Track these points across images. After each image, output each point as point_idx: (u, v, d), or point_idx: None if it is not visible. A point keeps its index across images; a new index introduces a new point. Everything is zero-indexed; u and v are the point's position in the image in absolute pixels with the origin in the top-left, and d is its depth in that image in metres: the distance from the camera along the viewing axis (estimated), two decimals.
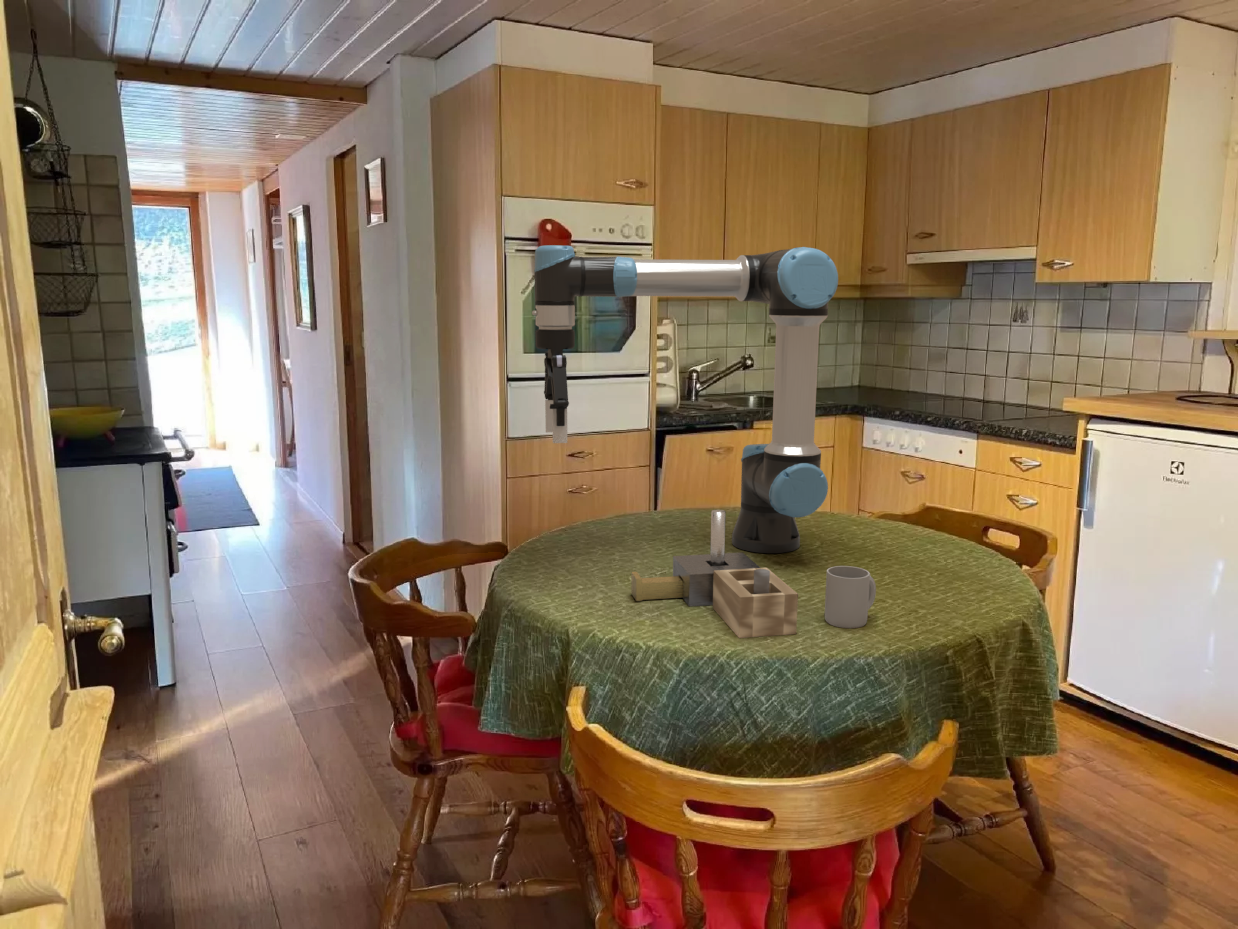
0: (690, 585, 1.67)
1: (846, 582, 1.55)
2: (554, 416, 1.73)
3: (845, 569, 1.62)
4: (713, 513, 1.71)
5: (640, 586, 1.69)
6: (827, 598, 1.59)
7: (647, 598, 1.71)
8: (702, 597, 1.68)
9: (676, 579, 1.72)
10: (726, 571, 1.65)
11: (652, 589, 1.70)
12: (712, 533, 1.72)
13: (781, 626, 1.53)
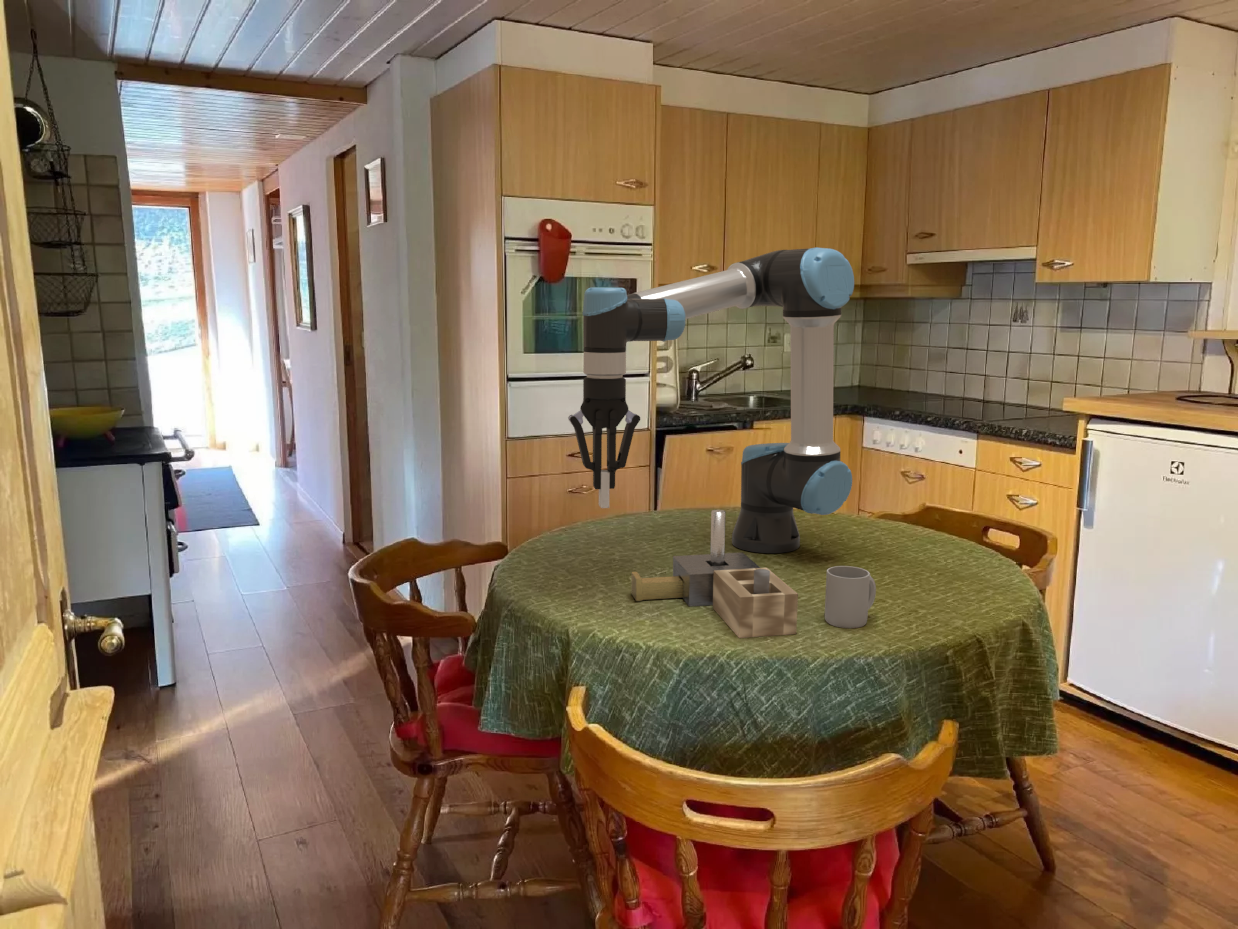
0: (690, 585, 1.67)
1: (846, 582, 1.55)
2: None
3: (845, 569, 1.62)
4: (713, 513, 1.71)
5: (640, 586, 1.69)
6: (827, 598, 1.59)
7: (647, 598, 1.71)
8: (702, 597, 1.68)
9: (676, 579, 1.72)
10: (726, 571, 1.65)
11: (652, 589, 1.70)
12: (712, 533, 1.72)
13: (781, 626, 1.53)
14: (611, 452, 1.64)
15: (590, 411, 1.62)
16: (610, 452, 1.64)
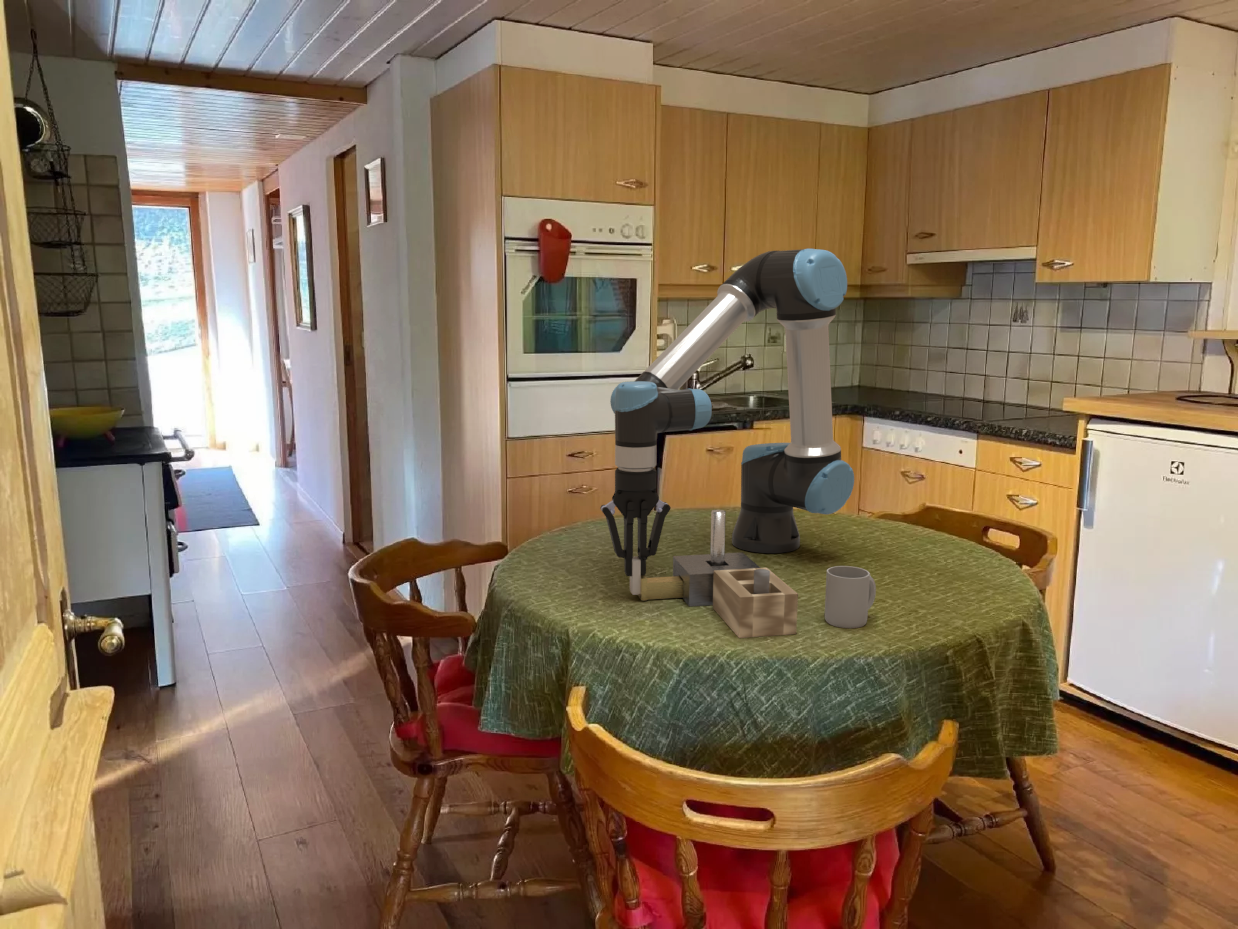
0: (690, 585, 1.67)
1: (846, 582, 1.55)
2: None
3: (845, 569, 1.62)
4: (713, 513, 1.71)
5: (645, 586, 1.69)
6: (827, 598, 1.59)
7: (652, 598, 1.71)
8: (702, 597, 1.68)
9: (681, 579, 1.72)
10: (726, 571, 1.65)
11: (657, 589, 1.71)
12: (712, 533, 1.72)
13: (781, 626, 1.53)
14: (642, 541, 1.69)
15: (622, 502, 1.67)
16: (641, 541, 1.69)
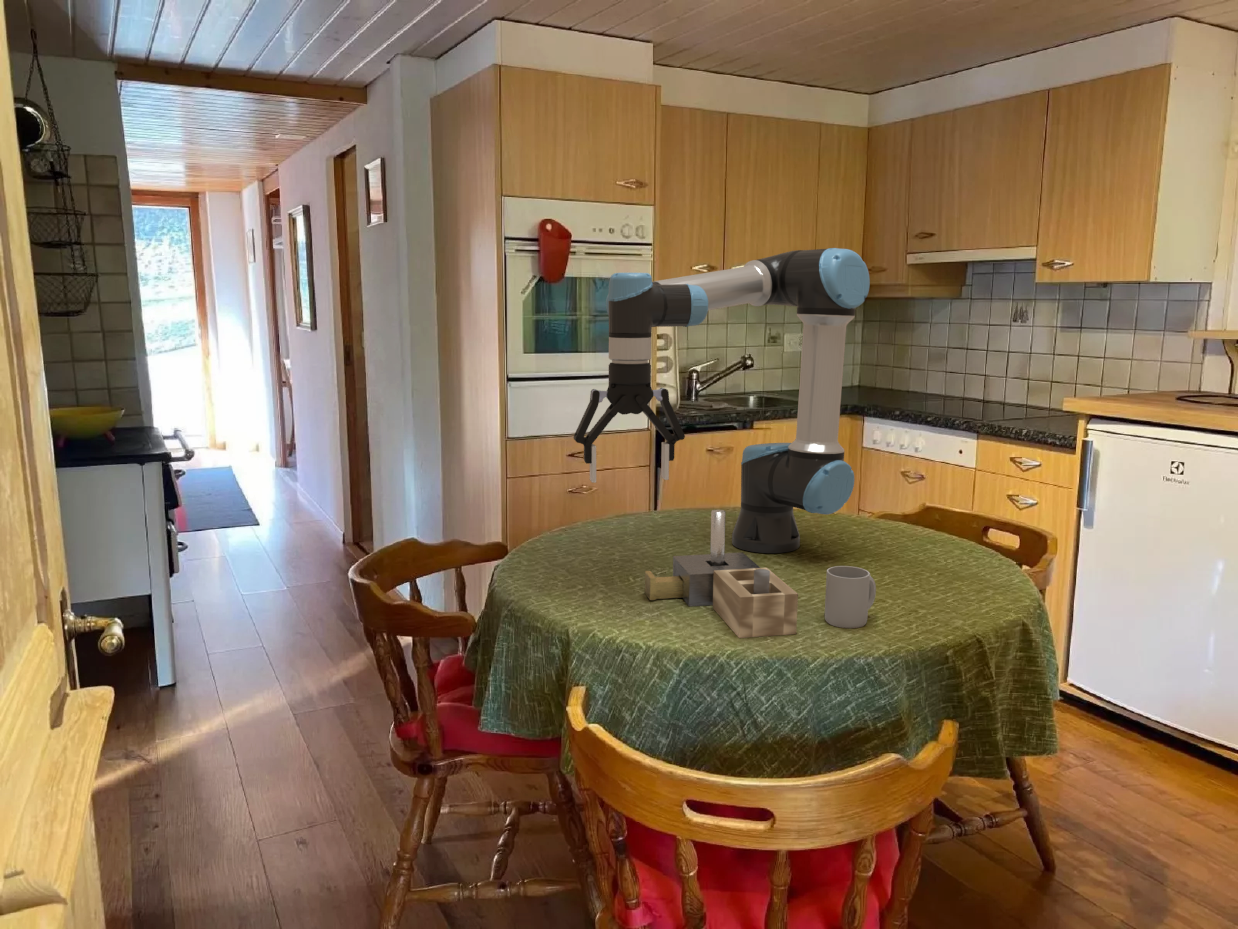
0: (690, 585, 1.67)
1: (846, 582, 1.55)
2: None
3: (845, 569, 1.62)
4: (713, 513, 1.71)
5: (654, 585, 1.70)
6: (827, 598, 1.59)
7: (661, 597, 1.71)
8: (702, 597, 1.68)
9: None
10: (726, 571, 1.65)
11: (666, 589, 1.71)
12: (712, 533, 1.72)
13: (781, 626, 1.53)
14: (661, 429, 1.65)
15: (614, 397, 1.63)
16: (660, 429, 1.65)
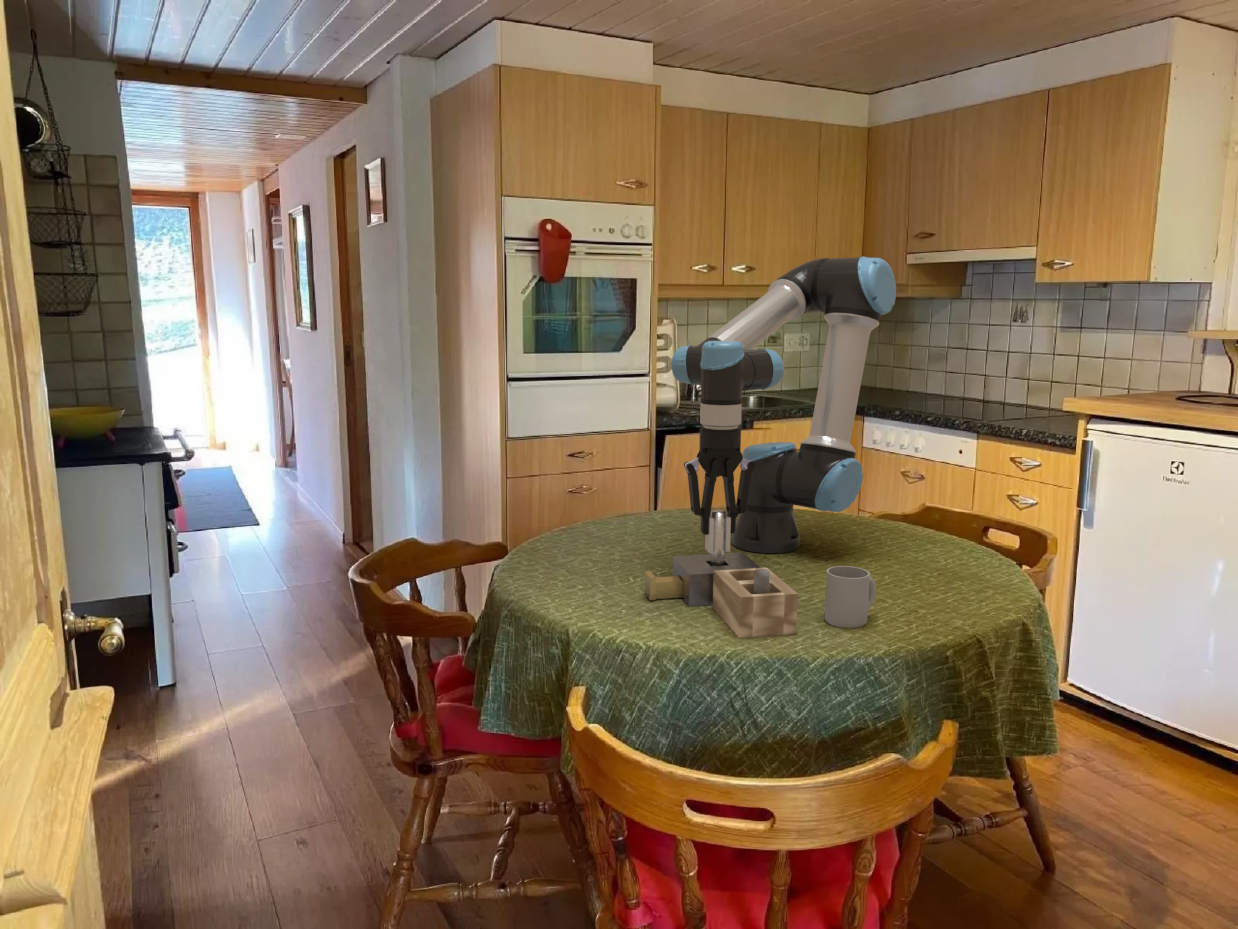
0: (690, 585, 1.67)
1: (846, 582, 1.55)
2: None
3: (845, 569, 1.62)
4: (713, 513, 1.71)
5: (654, 585, 1.70)
6: (827, 598, 1.59)
7: (661, 597, 1.71)
8: (702, 597, 1.68)
9: None
10: (726, 571, 1.65)
11: (666, 589, 1.71)
12: None
13: (781, 626, 1.53)
14: (731, 499, 1.70)
15: (707, 460, 1.68)
16: (730, 499, 1.70)
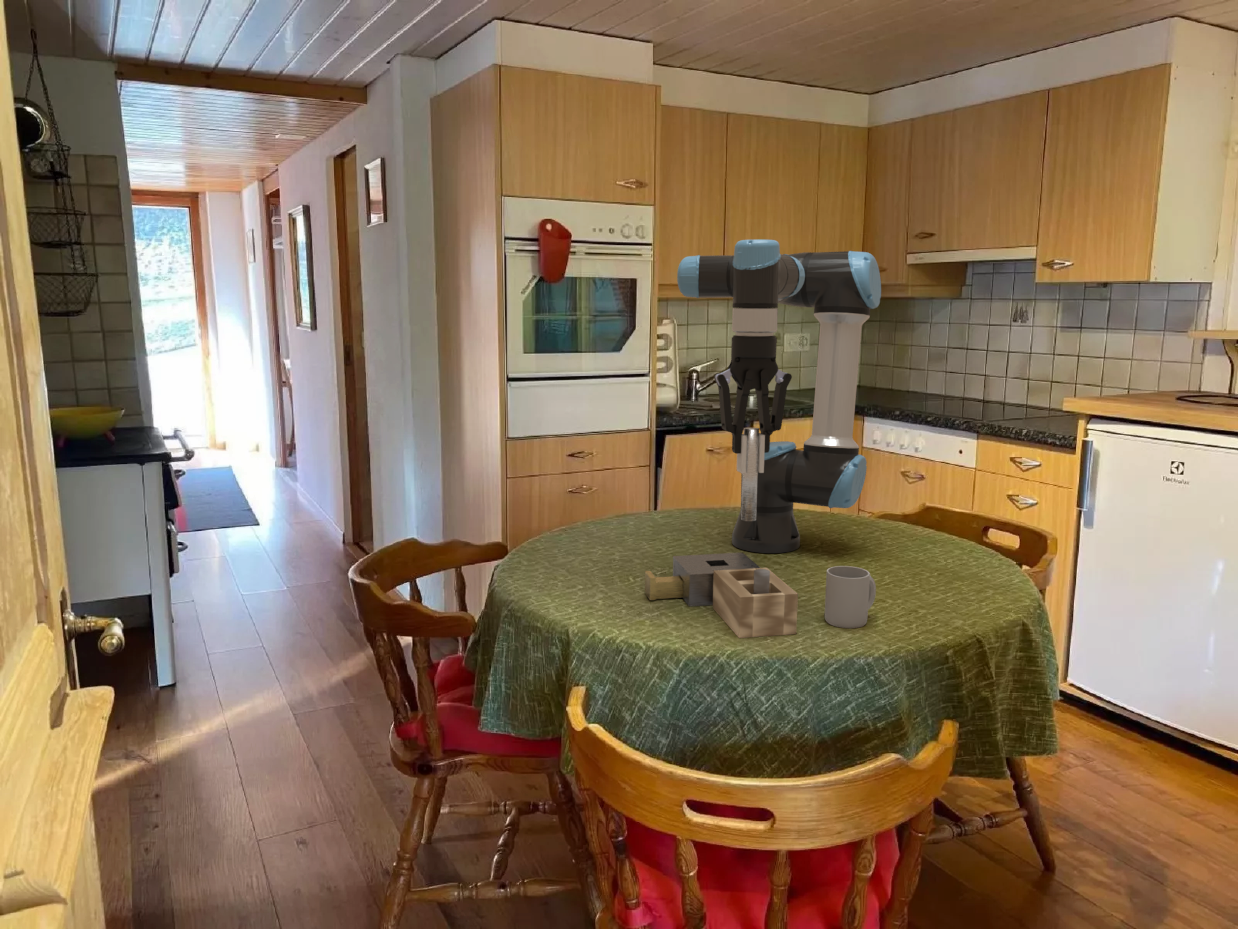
0: (690, 585, 1.67)
1: (846, 582, 1.55)
2: None
3: (845, 569, 1.62)
4: (746, 430, 1.57)
5: (654, 585, 1.70)
6: (827, 598, 1.59)
7: (661, 597, 1.71)
8: (702, 597, 1.68)
9: None
10: (726, 571, 1.65)
11: (666, 589, 1.71)
12: None
13: (781, 626, 1.53)
14: (765, 414, 1.57)
15: (739, 371, 1.55)
16: (764, 414, 1.57)
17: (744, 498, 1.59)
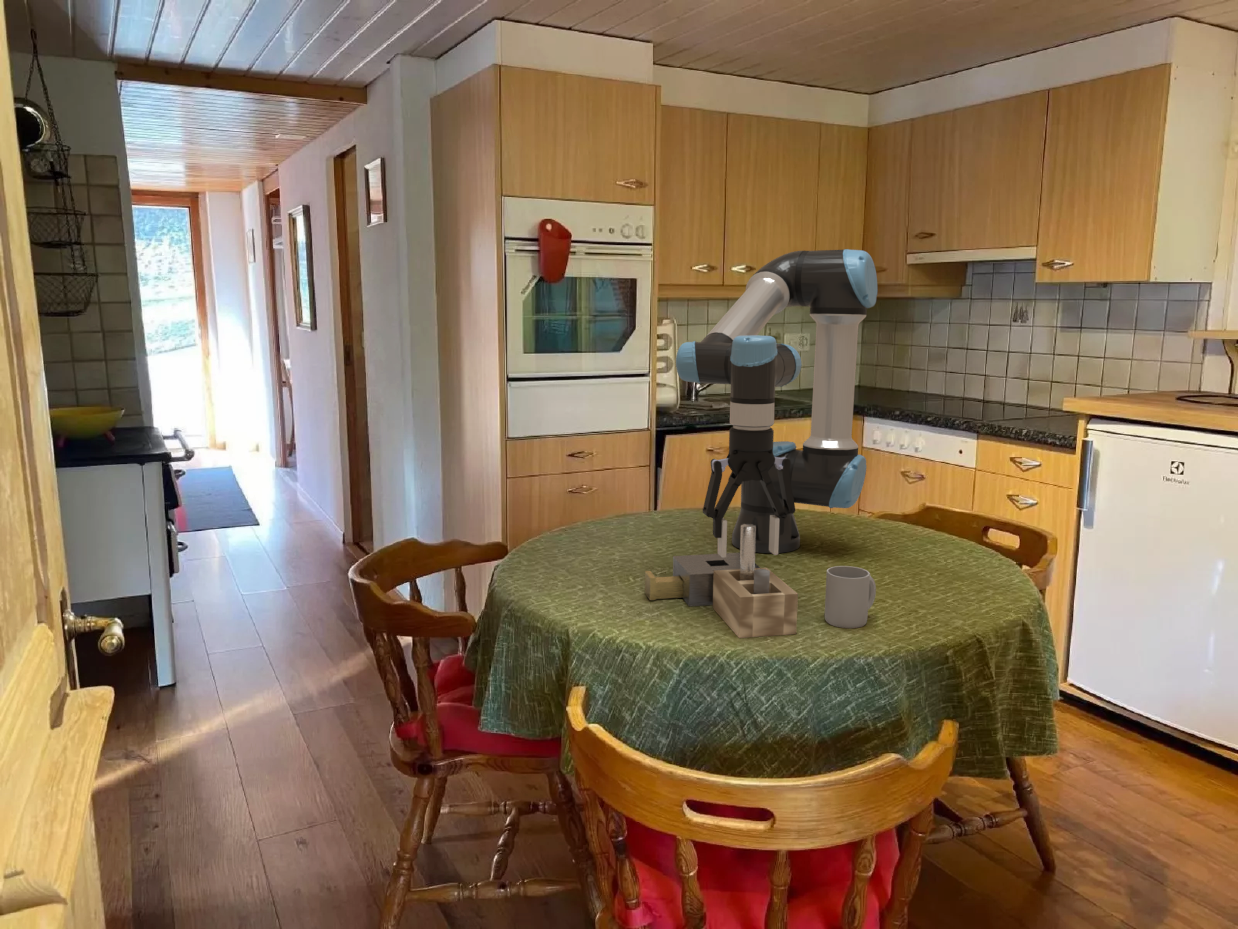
0: (690, 585, 1.67)
1: (846, 582, 1.55)
2: None
3: (845, 569, 1.62)
4: (743, 528, 1.60)
5: (654, 585, 1.70)
6: (827, 598, 1.59)
7: (661, 597, 1.71)
8: (702, 597, 1.68)
9: None
10: (726, 571, 1.65)
11: (666, 589, 1.71)
12: (742, 549, 1.61)
13: (781, 626, 1.53)
14: (775, 500, 1.60)
15: (736, 464, 1.57)
16: (774, 501, 1.60)
17: None
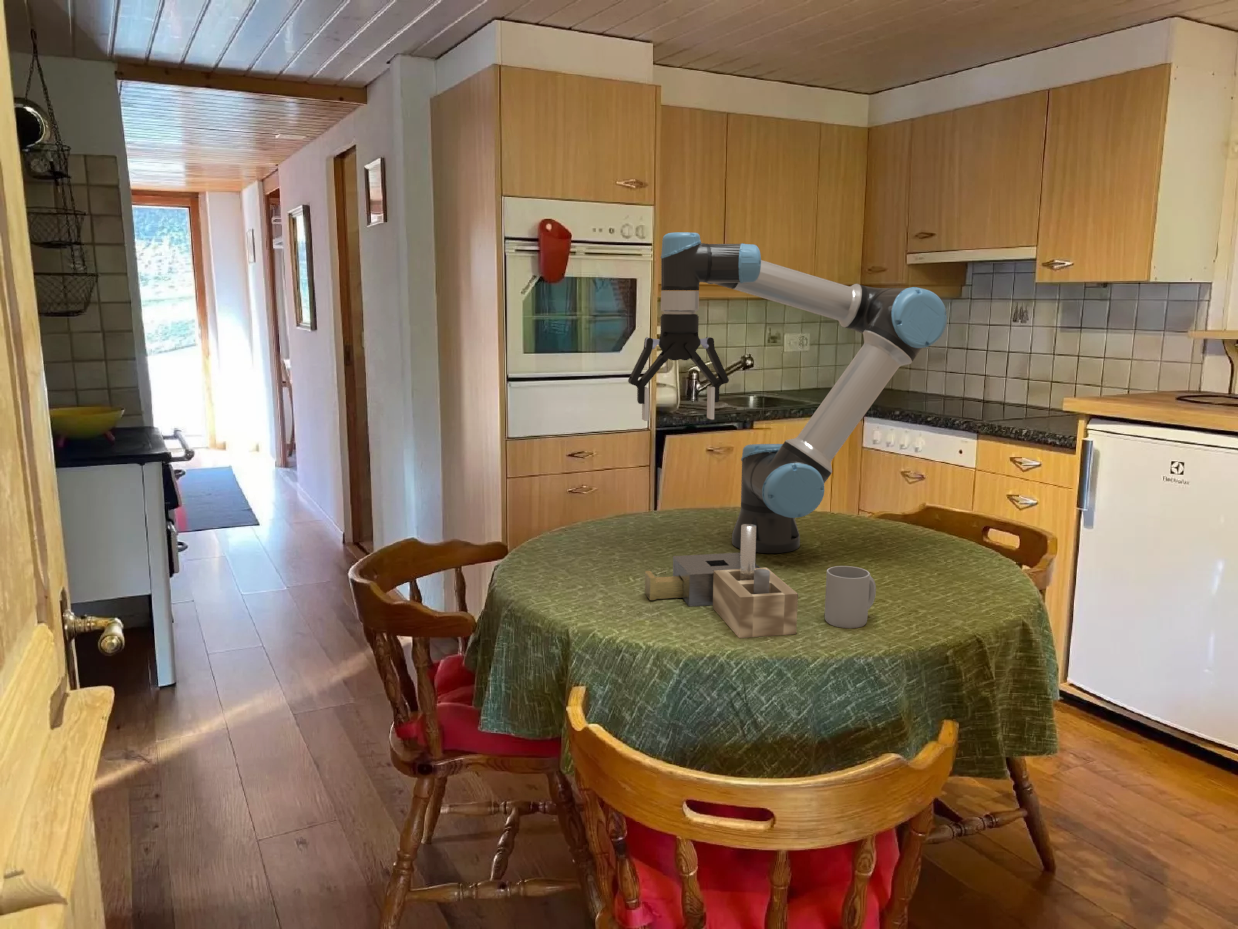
0: (690, 585, 1.67)
1: (846, 582, 1.55)
2: None
3: (845, 569, 1.62)
4: (743, 528, 1.60)
5: (654, 585, 1.70)
6: (827, 598, 1.59)
7: (661, 597, 1.71)
8: (702, 597, 1.68)
9: None
10: (726, 571, 1.65)
11: (666, 589, 1.71)
12: (742, 549, 1.61)
13: (781, 626, 1.53)
14: (708, 373, 1.85)
15: (665, 345, 1.82)
16: (707, 374, 1.85)
17: None
